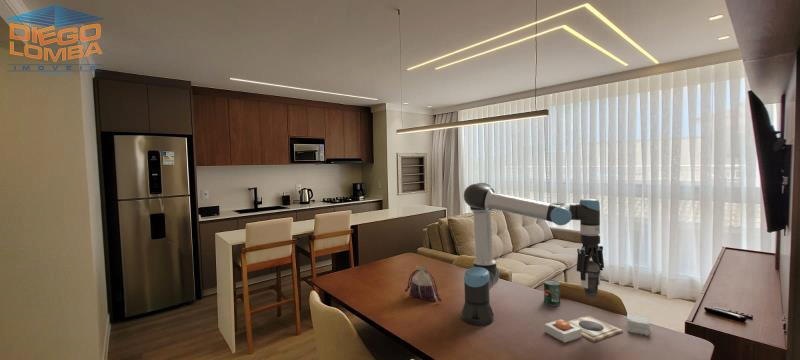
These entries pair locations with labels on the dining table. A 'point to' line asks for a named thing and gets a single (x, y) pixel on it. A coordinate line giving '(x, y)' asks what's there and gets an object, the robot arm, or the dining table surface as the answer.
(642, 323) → the small box
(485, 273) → the robot arm
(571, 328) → the button housing
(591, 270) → the beverage cup
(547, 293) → the canned tomato
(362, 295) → the dining table surface
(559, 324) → the button
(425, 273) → the pouch
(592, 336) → the beige flat square slab
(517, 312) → the dining table surface
